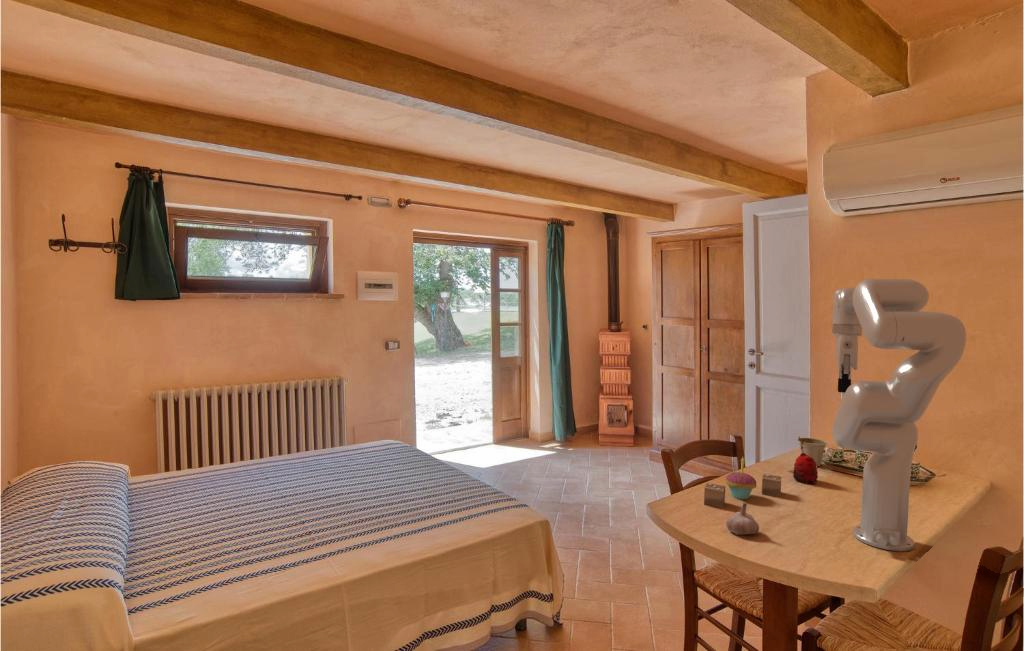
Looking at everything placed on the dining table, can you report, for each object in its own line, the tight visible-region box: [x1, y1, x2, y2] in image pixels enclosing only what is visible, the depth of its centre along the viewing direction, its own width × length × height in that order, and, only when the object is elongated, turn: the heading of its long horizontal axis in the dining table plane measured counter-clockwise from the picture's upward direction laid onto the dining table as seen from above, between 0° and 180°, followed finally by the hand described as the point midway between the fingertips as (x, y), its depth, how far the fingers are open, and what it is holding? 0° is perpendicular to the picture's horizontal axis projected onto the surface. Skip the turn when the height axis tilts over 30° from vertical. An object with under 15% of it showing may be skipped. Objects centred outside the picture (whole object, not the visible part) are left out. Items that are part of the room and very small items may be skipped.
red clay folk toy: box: [792, 436, 819, 485], centre depth 177 cm, size 8×7×15 cm
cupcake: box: [725, 457, 757, 500], centre depth 162 cm, size 9×8×12 cm
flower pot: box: [796, 437, 828, 467], centre depth 195 cm, size 9×9×9 cm
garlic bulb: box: [725, 501, 760, 536], centre depth 137 cm, size 8×7×8 cm
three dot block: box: [703, 482, 726, 509], centre depth 156 cm, size 5×5×5 cm
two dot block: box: [761, 473, 782, 498], centre depth 166 cm, size 5×5×5 cm
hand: (843, 392), depth 161 cm, fingers closed
